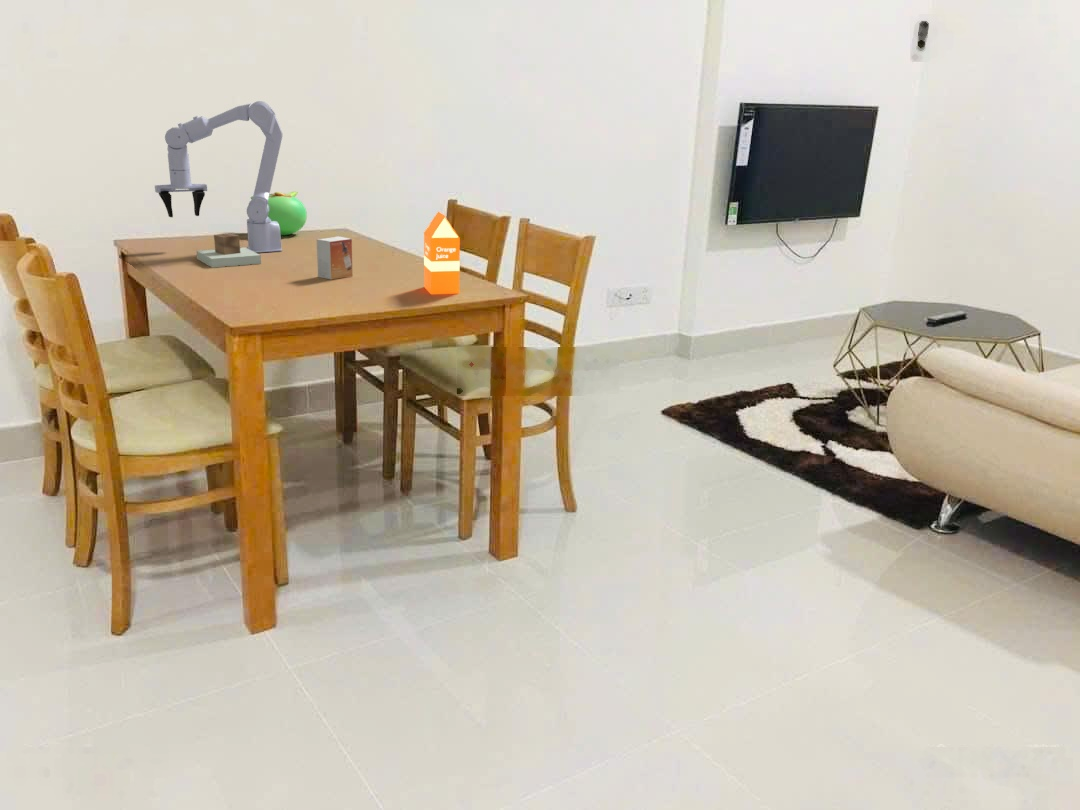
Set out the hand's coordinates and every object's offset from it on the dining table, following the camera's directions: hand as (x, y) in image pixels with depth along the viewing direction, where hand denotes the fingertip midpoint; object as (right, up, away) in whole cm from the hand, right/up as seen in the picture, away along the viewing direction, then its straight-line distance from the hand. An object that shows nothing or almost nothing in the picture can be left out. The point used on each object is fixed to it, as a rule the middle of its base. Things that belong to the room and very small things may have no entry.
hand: (184, 216), depth 266 cm
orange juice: (+81, -27, -32) cm, 91 cm away
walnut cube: (+17, -13, -9) cm, 23 cm away
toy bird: (+18, +2, +37) cm, 42 cm away
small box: (+51, -22, -22) cm, 60 cm away
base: (+17, -15, -9) cm, 24 cm away
